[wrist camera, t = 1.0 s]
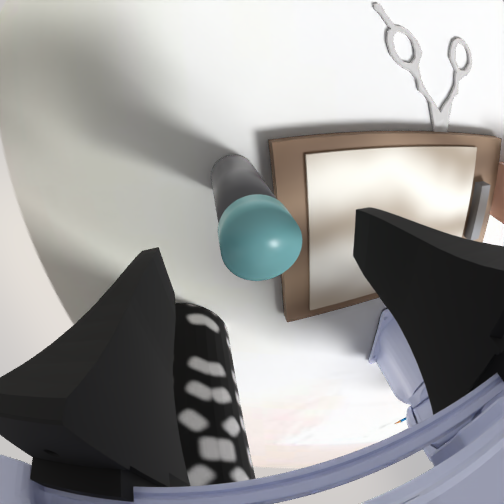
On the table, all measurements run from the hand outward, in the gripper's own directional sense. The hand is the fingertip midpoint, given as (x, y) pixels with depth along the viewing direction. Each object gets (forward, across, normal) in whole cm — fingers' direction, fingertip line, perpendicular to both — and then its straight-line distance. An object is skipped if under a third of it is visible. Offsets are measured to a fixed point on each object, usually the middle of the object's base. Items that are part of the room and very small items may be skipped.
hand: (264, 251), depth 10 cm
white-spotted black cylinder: (+10, +7, +13) cm, 18 cm away
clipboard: (+9, -14, +6) cm, 18 cm away
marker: (+9, 0, 0) cm, 9 cm away
